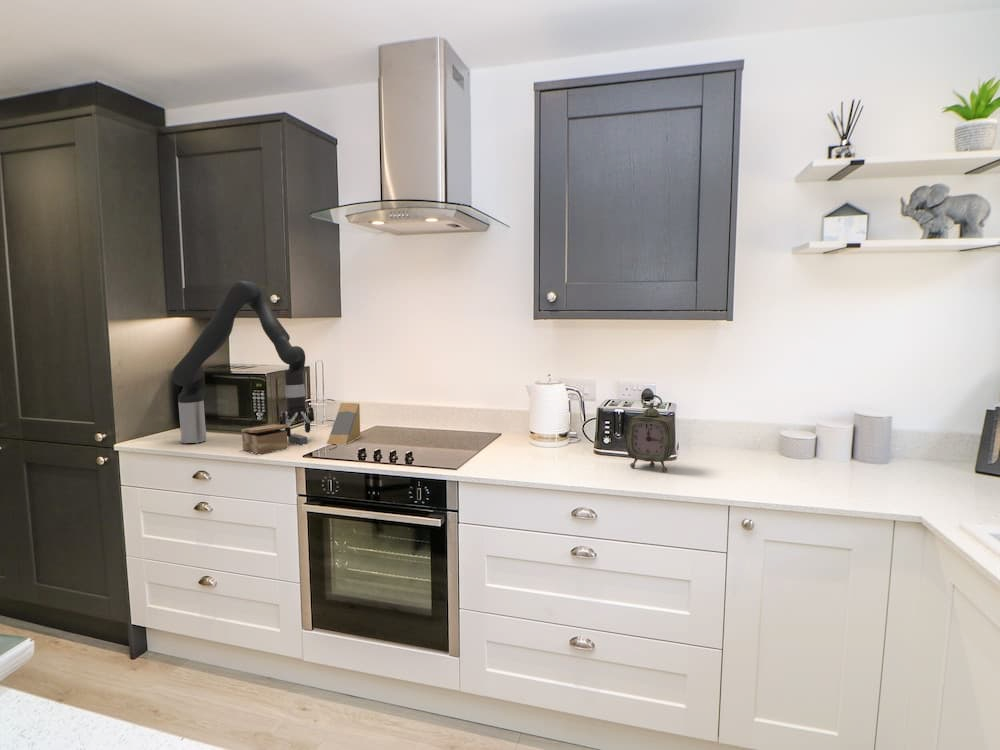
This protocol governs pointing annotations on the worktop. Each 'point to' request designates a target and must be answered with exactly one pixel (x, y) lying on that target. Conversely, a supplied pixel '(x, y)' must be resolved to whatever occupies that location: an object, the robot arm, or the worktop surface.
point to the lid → (263, 428)
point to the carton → (265, 441)
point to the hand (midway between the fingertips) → (298, 434)
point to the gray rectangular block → (297, 439)
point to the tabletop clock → (650, 436)
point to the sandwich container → (346, 424)
